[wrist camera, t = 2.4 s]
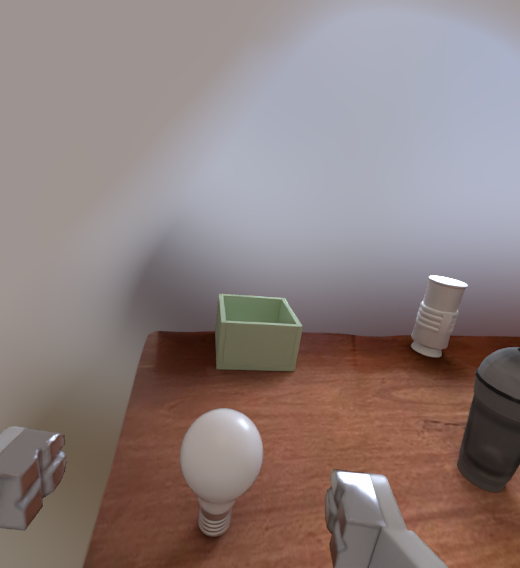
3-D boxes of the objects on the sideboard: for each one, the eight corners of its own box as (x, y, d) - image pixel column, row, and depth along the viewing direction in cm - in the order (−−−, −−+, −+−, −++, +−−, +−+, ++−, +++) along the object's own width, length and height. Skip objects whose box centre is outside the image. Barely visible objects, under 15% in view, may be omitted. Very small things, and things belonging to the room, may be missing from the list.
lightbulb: (174, 496, 29) (180, 394, 26) (242, 487, 31) (256, 389, 28) (175, 577, 23) (183, 458, 20) (259, 559, 25) (279, 447, 22)
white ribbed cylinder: (417, 356, 62) (439, 283, 58) (402, 340, 69) (422, 273, 65) (451, 360, 63) (476, 288, 58) (434, 344, 69) (455, 278, 65)
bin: (216, 369, 49) (221, 322, 47) (215, 332, 61) (218, 293, 59) (294, 371, 52) (302, 326, 49) (278, 335, 63) (284, 298, 61)
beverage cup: (481, 447, 40) (542, 299, 34) (537, 503, 33) (625, 329, 28) (430, 448, 39) (484, 294, 33) (477, 506, 32) (556, 324, 26)
